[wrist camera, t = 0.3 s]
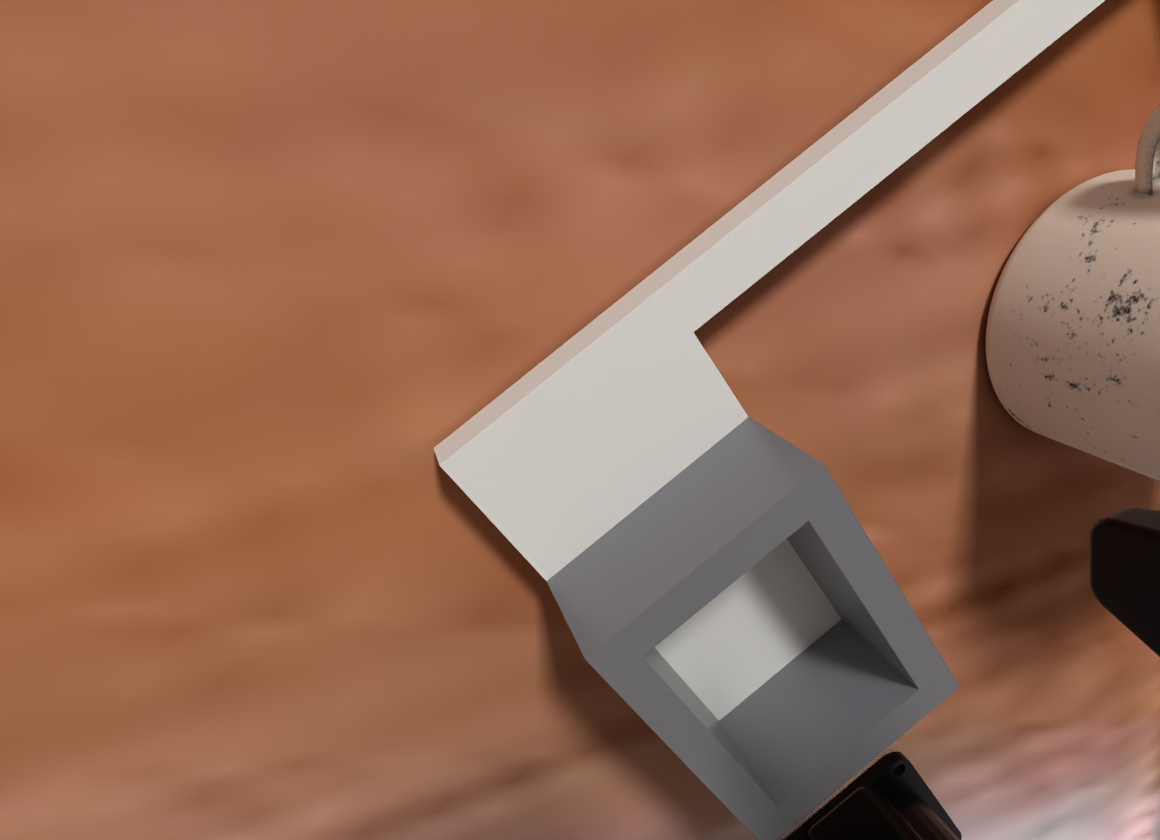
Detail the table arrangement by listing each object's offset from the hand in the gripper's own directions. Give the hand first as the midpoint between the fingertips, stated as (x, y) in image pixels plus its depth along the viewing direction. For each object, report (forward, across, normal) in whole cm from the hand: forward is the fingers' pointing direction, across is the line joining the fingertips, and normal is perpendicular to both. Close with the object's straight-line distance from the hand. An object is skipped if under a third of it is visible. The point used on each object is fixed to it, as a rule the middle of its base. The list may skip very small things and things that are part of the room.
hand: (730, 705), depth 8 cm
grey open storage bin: (+13, -14, +4) cm, 19 cm away
